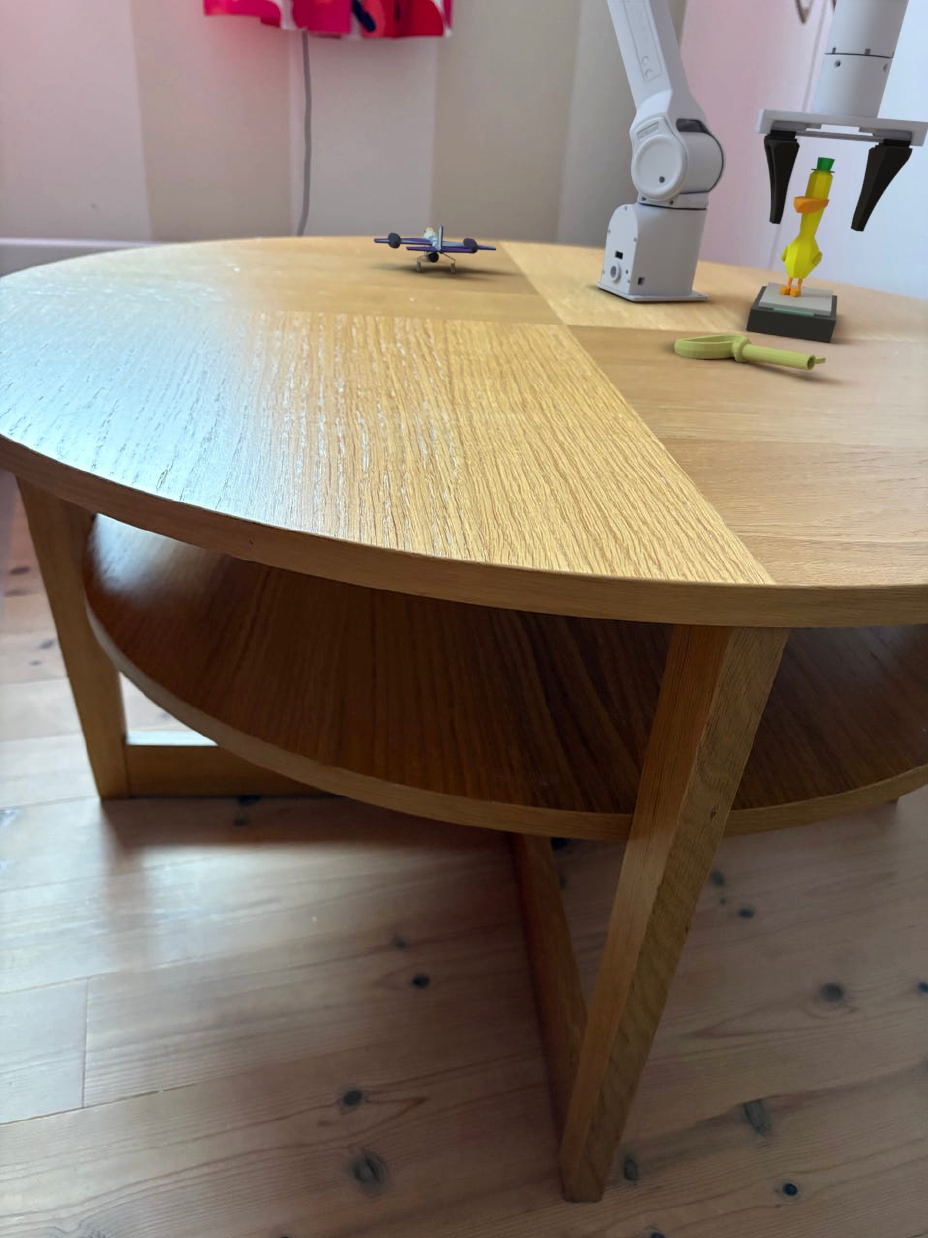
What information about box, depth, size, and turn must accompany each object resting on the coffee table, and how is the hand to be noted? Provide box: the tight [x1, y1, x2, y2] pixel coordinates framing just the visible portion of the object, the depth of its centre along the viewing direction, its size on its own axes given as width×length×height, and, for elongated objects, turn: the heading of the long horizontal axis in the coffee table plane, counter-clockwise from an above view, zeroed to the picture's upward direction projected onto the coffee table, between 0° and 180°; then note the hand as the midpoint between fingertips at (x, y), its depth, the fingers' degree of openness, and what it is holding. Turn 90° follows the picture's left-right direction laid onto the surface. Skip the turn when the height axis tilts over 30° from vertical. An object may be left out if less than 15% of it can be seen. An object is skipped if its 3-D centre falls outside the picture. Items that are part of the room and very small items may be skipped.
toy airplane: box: [373, 224, 497, 274], centre depth 100 cm, size 13×14×4 cm
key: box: [673, 333, 827, 372], centre depth 73 cm, size 7×12×2 cm, turn 55°
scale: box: [745, 281, 838, 343], centre depth 87 cm, size 14×8×2 cm, turn 159°
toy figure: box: [780, 156, 836, 297], centre depth 84 cm, size 7×4×12 cm, turn 141°
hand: (815, 226), depth 84 cm, fingers open, 7 cm apart
